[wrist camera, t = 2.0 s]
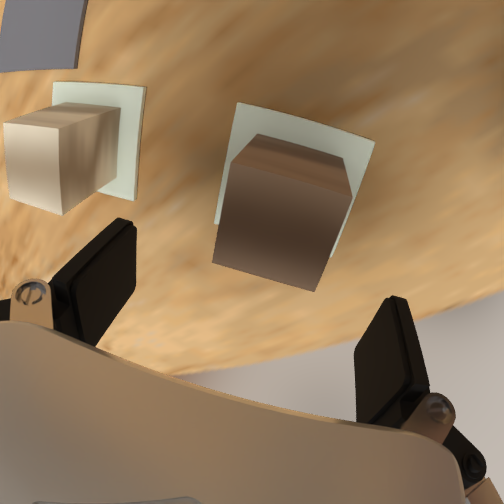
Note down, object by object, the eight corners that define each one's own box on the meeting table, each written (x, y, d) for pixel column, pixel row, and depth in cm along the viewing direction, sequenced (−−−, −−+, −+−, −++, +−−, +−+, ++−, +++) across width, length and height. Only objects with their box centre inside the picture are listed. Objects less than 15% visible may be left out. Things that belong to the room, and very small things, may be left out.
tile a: (238, 102, 17) (237, 102, 17) (374, 140, 17) (375, 142, 16) (215, 220, 21) (213, 223, 21) (331, 254, 21) (331, 257, 21)
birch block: (65, 102, 18) (3, 122, 13) (120, 107, 18) (58, 128, 13) (65, 165, 21) (9, 198, 16) (116, 177, 21) (62, 215, 16)
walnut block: (257, 133, 17) (230, 161, 12) (342, 158, 17) (352, 197, 12) (240, 209, 20) (211, 262, 15) (317, 231, 20) (314, 292, 15)
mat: (16, -31, 12) (13, -31, 12) (103, -58, 11) (99, -59, 11) (-1, 72, 17) (-4, 73, 17) (77, 68, 17) (73, 68, 17)
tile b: (56, 81, 18) (53, 81, 17) (146, 86, 17) (143, 87, 17) (56, 178, 22) (52, 180, 22) (136, 199, 22) (133, 201, 21)
